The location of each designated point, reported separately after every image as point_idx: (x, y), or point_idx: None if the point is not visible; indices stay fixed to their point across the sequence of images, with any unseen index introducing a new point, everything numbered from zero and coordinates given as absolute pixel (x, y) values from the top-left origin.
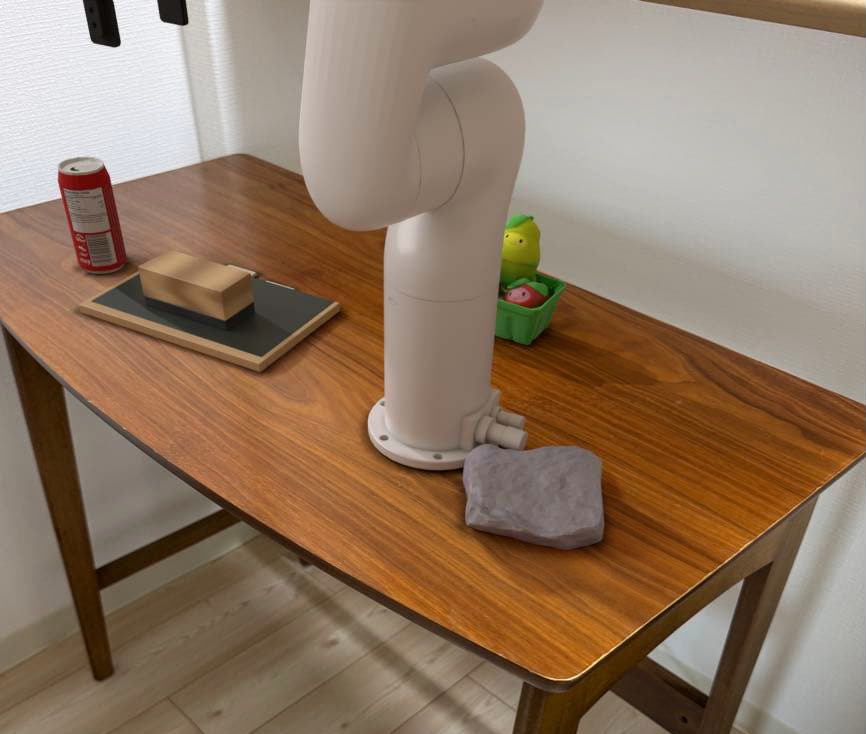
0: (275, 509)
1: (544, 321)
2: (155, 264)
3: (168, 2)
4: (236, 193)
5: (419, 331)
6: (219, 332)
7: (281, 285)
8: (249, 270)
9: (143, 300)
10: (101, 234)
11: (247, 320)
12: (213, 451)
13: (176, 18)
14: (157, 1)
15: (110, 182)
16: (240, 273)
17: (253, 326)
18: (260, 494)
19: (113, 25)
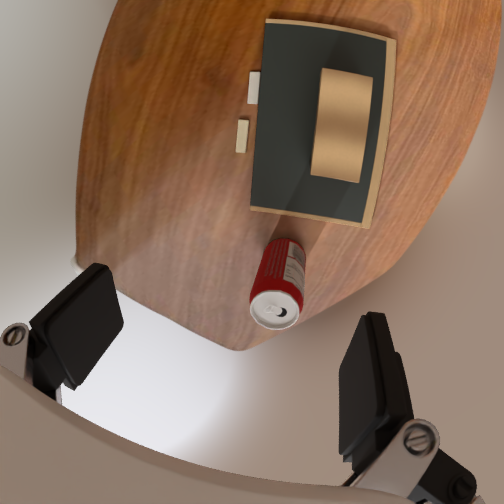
0: (493, 10)
1: None
2: (348, 168)
3: (92, 327)
4: (118, 230)
5: None
6: None
7: (250, 85)
8: (238, 127)
9: (344, 181)
10: (296, 259)
11: None
12: (479, 50)
13: (107, 291)
14: (104, 351)
15: (264, 278)
16: (328, 76)
17: (345, 64)
18: (490, 18)
19: (393, 350)
